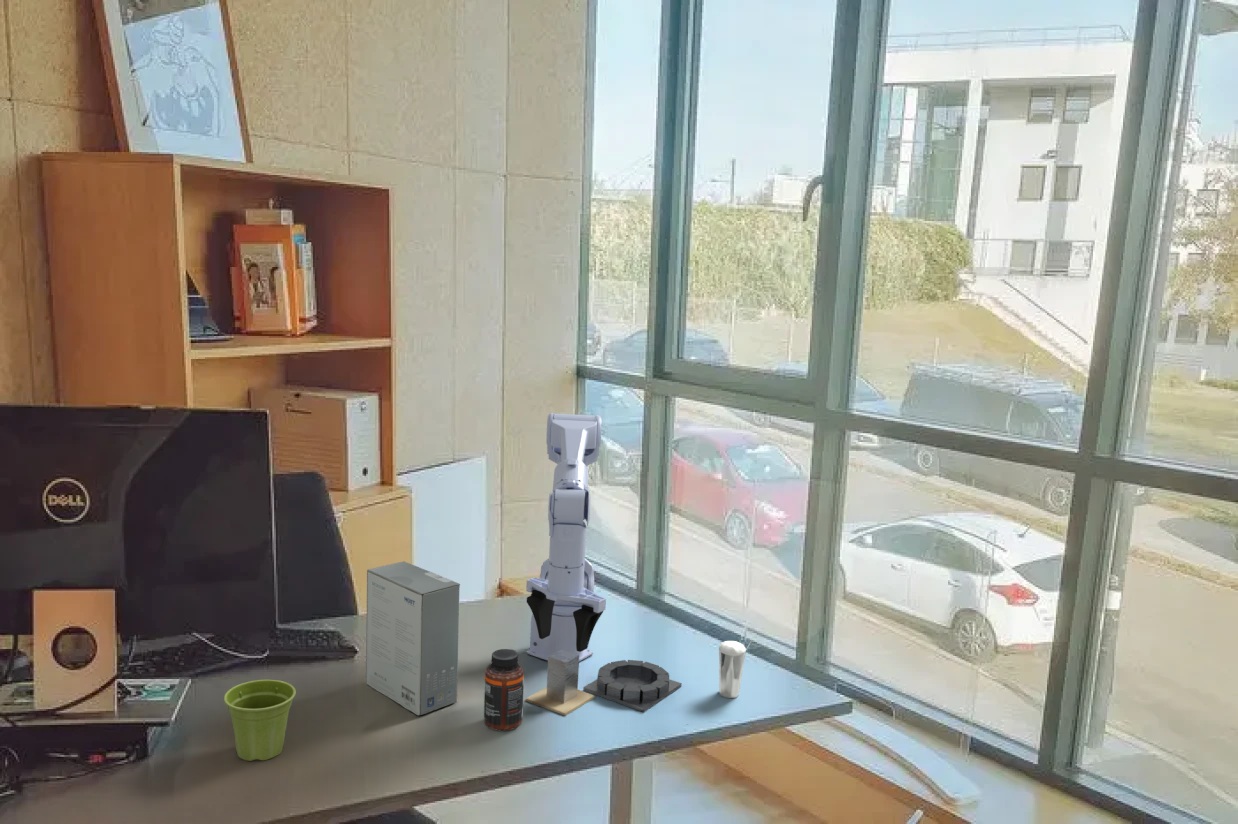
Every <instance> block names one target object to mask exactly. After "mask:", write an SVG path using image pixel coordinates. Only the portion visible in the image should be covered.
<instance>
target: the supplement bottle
mask: <svg viewBox="0 0 1238 824" xmlns="http://www.w3.org/2000/svg"><path fill="white" fill-rule="evenodd" d="M490 662H491V663H490V664H489V665H488V666H486V668H485V671H484V693H483V694H484V697H483V699H484V701H483V702H484V705H483V722H484V725H485V726H486V727H487V728H489V729H491V730H495V731H502V732H503V731H504V732H505V731H511V730H513V729H516V728H518V727H520V725H522V722H523V717H524V715H523V714H524V713H523V711H524V710H523V709H524V704H523V703H524V680H525V679H524V678H525V677H524V675H525V671H524V668H523V666H522V665H520V663H519V654H518V652H517V651H516V650H514V649H510V648H500V649H497V650H495V651H493V652H492V653H491V660H490Z"/></svg>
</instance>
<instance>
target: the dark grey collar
mask: <svg viewBox="0 0 1238 824" xmlns="http://www.w3.org/2000/svg"><path fill="white" fill-rule="evenodd" d="M682 687H683V686H682V683H681V682H678V681H676V680H672V679H670V673H669V672H668V671H667V670H666V669H664V668H663V667H662V666H659V665H657V664H654V663H651V662H648V661H643V660H633V659H628V660H625V659H622V660H616V661H611V662H607V663H606V664H603V666H601V667H599V668H598V672H597V679H594V680H593V681H591V682H589V683H588V684H586V685H585V686H583V690H582V691H583V692H586V693H589V694H592V695H594V696H598V697H601V698H602V699H603V698H604V699H605V700H606V699H607V700H609V701H612V702H615V703H617V704H620V705H623V706H625V707H628V708H631V709H634V710H637V711H639V712H642V713H645V712H647V711H648V710H650V709H651V708H653V707H655V706H656V705H657V704H659V703H660V702H661V701H662V700H664V699H666V698H667V697H668V696H670V695H672V694H673V693H674V692H676V691H677V690H679V689H680V688H682Z"/></svg>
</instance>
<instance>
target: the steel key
mask: <svg viewBox="0 0 1238 824" xmlns="http://www.w3.org/2000/svg"><path fill="white" fill-rule="evenodd" d="M579 663H580V661H579V655H576V654H573V653H570V652H567V651H564V650H560V651H558V652H556V653H554V654H552V655H550V656H548V661H547V676H546V679H547V680H546V687H547V695H546V697H548V698H551V699H553V700H556V701H559V702H561V703H566V702H567V701H569V700H571V699H573V698H574V697H576V696H577V691H578V690H579V689H578V686H579V671H580V670H579V668H580V665H579Z"/></svg>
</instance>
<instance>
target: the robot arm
mask: <svg viewBox="0 0 1238 824" xmlns="http://www.w3.org/2000/svg"><path fill="white" fill-rule="evenodd" d="M602 421H603V420H602V417H601V416H600V414H596V415H594V414H575V413H574V414H572V413H570V414H569V413H554V412H550V414H548V415H547V422H546V442H545V443H546V451H547V452H546V453H547V455H548V460H550V461H551V462H554V463H555V464H556V466H555V468H554V471H553V482H552V483H553V484H552V491H550V492H549V495H548V509H547V512H548V513H547V520H548V529H549V533H548V537H549V548H548V550H549V552H548V553H549V555H548V558H547V559H546V560H544V561H543V562H542V564H541V565H540V574H539V578H538V577H535V576H534V577H532V578H528V579H527V580H526V592H528V593H531V594H530V595H529V596H527V597H526V603H527V605H528V607H529V609H530V611H531V613H532V615H531V618H530V633H529V635H530V637H529V638H530V639H529V641H530V642H529V649H528V650H526V653H527V655H530V656H533V657H536V658H537V659H538V658H539V659H541V660H545V661H547V662H548V656H550V655H552V654H554V653H556V652H558V651H560V650H564V651H567V652H570V653H573V654H576V655H579V662H581V661H583V660H585V659H587V658H589V657H590V656H592V655H593V654H594V651H593V650H590V649H588V647H589V643H590V641H591V637H592V634H593V631H594V629H595V627H596V624H597V623H598V621H599V620H600V618H601V617H602V615H603V613H604V611H606V608H607V607H606V604H607V598H606V597H603V596H601V595H598V594H596V593H595V592H594V591H595V576H594V573H595V568H594V566H593V564H592V563H591V562H590V561H589V560H588V559H587V558H586V545H587V544H586V543H587V541H586V539H587V527H588V526H589V523H590V518H591V517H590V515H591V493H590V487H589V474H590V473H589V468H588V466H589V465H591V464H594V463H596V462H597V461H598V457H599V456H600V447H601V441H602ZM584 520H585V521H586V522H585V521H584Z"/></svg>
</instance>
